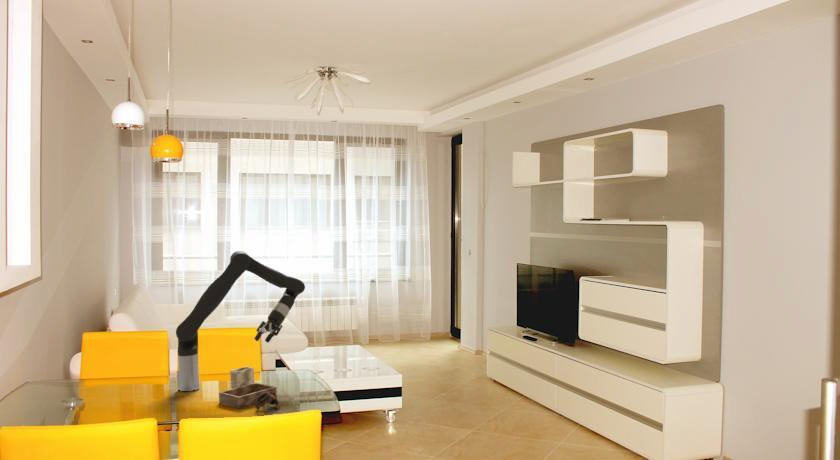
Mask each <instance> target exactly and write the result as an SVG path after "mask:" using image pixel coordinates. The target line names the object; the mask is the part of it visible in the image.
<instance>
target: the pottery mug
mask: <svg viewBox="0 0 840 460" xmlns="http://www.w3.org/2000/svg"><path fill="white" fill-rule="evenodd" d="M265 396H266V397H265ZM264 397H265V398H264ZM263 398H264V399H263ZM261 399H262V400H261ZM260 400H261V401H260ZM266 403H269V404H270V405H275V408H276V410H277V411H279V410H280V408H281V405H280V402H279V400H278V397H277V398H276V394H275V393H274V392H271V393H269V392H266V393H263V394H262V395H261V396H259V397H258V398H257V400H256V401H255V408H256V409H257V410H260V408H262V407H264V408H266Z"/></svg>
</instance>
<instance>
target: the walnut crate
mask: <svg viewBox="0 0 840 460" xmlns="http://www.w3.org/2000/svg"><path fill="white" fill-rule="evenodd" d="M266 392H269V393H271V392H274V393H275V394H276V398H277V399H278V391H277V386H274V385H270V384H269V385H268V384H264V383H259V382H254V383H253V384H249V385H245V386H242V387H238V388H234V389H231V388H229V389H227V390H223V391H220V392H218V399H219V403H218V404H219V405H223V406H225V407H230V408H234V409H239V410H240V409H244V408H245V409H246V408H248V407H250V406H251V407H252V406H254V405H255V406H256V404H255V401H256V400H257V398H258V397H259V396H261V395H262V394H263V393H266ZM265 397H266V396H265ZM265 397H264V398H265ZM264 398H263V399H264ZM261 400H262V399H261ZM261 400H260V401H261Z"/></svg>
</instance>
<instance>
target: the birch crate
mask: <svg viewBox="0 0 840 460" xmlns="http://www.w3.org/2000/svg"><path fill="white" fill-rule="evenodd" d="M229 371H230V372H229V373H230V375H229V377H230V379H229V380H230V389H234V388H238V387H242V386H245V385H249V384H253V383H255V368H254V367H250V366H243V367H239V368H235V369H231V370H229Z"/></svg>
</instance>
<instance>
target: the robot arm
mask: <svg viewBox="0 0 840 460" xmlns="http://www.w3.org/2000/svg"><path fill="white" fill-rule="evenodd" d="M229 261H230V262H229V264H228V265H227V267H226V268H225V269H224V271H223V273H221V275H219V276H218V277H217V278H216V279H215V280H214V281H213V282H212V283H210V285H209V286H208V287H207V288H206V289H205V290H204V292H203V293H202V295H201V296H200V298H199V299H198V301H197V302H196V303H195V306H194V307H193V309H192V311H191V312H190V313H189V315H188V316H187V317H185V319H184V320H183V321H182V322H181V323H180V324H178V326H177V328H176V330H175V336H176V338H177V343H178V344H177V364H178V368H177V369H178V370H177V371H176V383H177V385H176V386H177V391H178V390H180V391H179V392H182V391H189V392H194V391H193V390H195V391H198V390H199V389H200V372H199V370H200V369H199V368H200V367H199V332H198V331H199V329H200V328H201V326H202V325H203V323H204V322H205V320H206V319H207V318H208V317H210V315H211V314H212V313H213V312H214V311H215V310H216V309H217V308H218V307H219V306H220V304H222V302H223V301H224V299H225V298H226V296H227V295H228V293H230V291H231V289H232V287H233V286H234V284H235V283H236V281H238V279H239V278H240V277H241V276H242V275H243V274H244V273H245V272H249V273H251V274H254V275H256V276H258V277H259V278H261V279H262V280H264V281H266V282H267V283H269V284H271V285H273V286H276V287H278V288H280V289H283V288H284V289H285V291H284V293H283V294H282V296H281V297H280V299H279V300H278V302H277V303H276V305H274V307H273V309H272V310H271V312H270V313H269V314H268V316H267V321H266V322H265V321H263V320H262V322H261V323H260V324H259V326H258V327H257V329H256V332H257V333H256V335H255V336H254V340H255V341H256V342H259V340H260V339H261V338H262V335H263V334H266V333H268V332H269V333H268V335H267V336H266V338H265V339H264V341H265V342H266V343H267V344H269V343H270V342H271V340H272V339H273V337H277V336H278V334H279V333H280V332H281V329H282V328H283V325H282V324H283V323H284V321H285V319H286V318H287V316H288V315H289V313H290V311H291V309H292V307H293V306H294V305H295V300H296V299H297V297H298V296H299V295H301V294H302V293H303V292H305V290H306V286H305V285H306V284H305V283H304V282H303V281H302V280H300V279H298V278H297V277H293V276H288V275H286V274H284V273H282V272H280V271H278V270H277V269H274V268H271V267H269V266H267V265H265V264H263V263H261V262H260V261H257V260H256V259H255V258H253V257H251V256H250V255H249V254H248V253H247V252H245V251H243V250H236V251H234V252H232V253H231V256H230V259H229ZM197 389H198V390H197Z"/></svg>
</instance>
